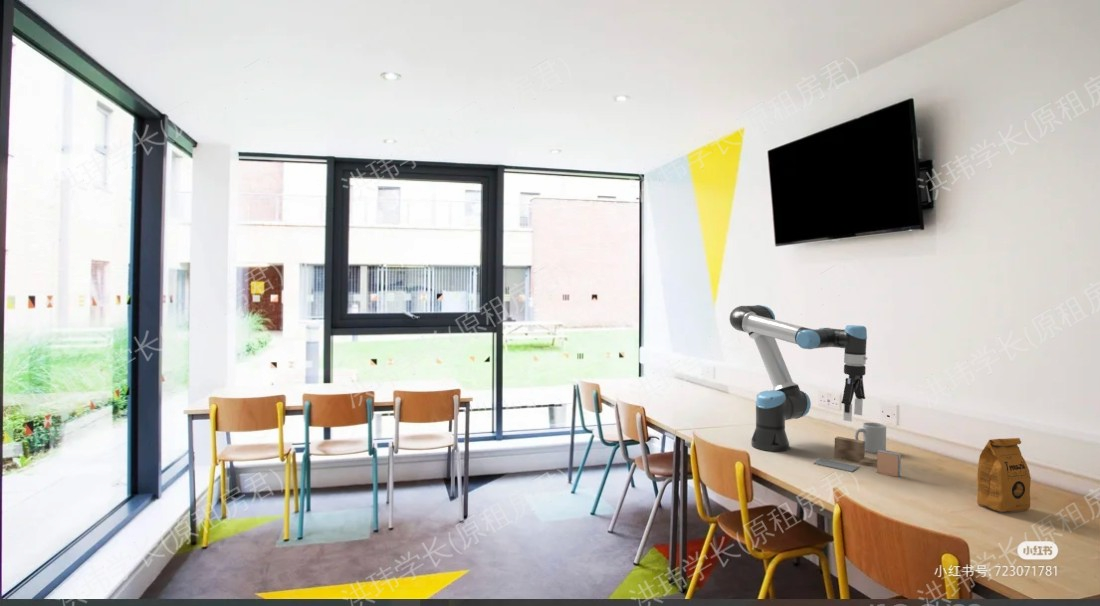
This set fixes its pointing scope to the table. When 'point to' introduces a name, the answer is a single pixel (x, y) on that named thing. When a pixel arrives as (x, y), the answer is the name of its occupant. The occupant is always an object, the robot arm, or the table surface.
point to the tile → (888, 463)
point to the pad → (836, 465)
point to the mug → (873, 437)
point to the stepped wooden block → (853, 451)
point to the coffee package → (1003, 477)
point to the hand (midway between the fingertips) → (852, 417)
